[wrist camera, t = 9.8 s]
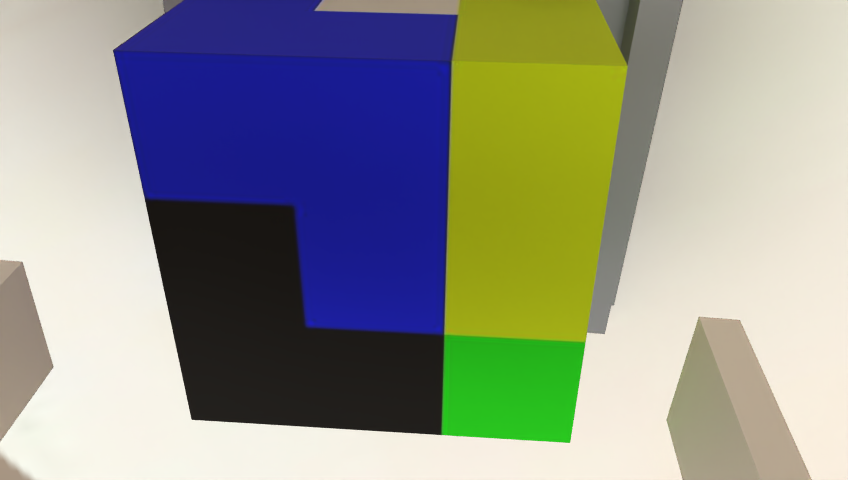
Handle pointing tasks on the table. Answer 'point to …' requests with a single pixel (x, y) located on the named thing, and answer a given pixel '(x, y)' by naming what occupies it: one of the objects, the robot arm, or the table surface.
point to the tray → (626, 129)
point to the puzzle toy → (378, 206)
